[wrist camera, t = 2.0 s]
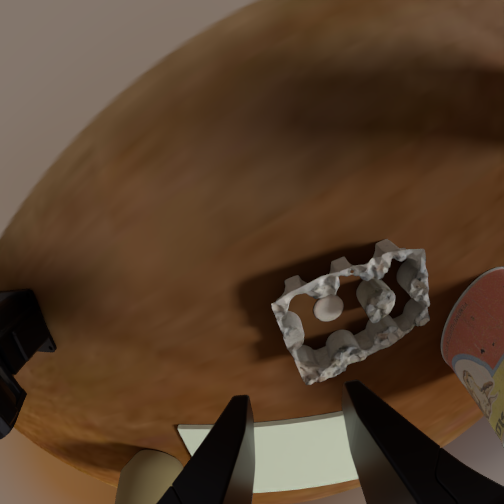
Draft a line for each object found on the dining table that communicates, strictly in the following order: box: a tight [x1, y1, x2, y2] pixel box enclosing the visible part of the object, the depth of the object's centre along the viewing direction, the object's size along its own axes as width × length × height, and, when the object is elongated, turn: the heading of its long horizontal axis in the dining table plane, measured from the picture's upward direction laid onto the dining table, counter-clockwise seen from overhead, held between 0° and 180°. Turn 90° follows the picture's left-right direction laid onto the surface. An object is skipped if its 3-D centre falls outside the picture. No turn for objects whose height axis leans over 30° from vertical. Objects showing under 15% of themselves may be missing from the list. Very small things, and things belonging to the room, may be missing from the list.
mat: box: [178, 411, 358, 493], centre depth 28 cm, size 20×16×1 cm
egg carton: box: [271, 239, 430, 385], centre depth 19 cm, size 11×8×4 cm
